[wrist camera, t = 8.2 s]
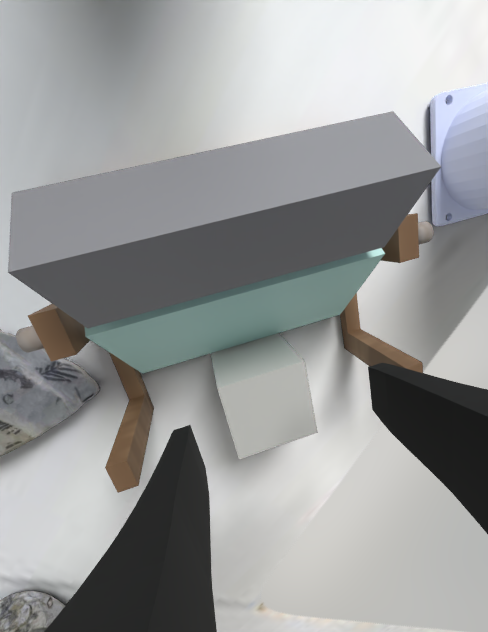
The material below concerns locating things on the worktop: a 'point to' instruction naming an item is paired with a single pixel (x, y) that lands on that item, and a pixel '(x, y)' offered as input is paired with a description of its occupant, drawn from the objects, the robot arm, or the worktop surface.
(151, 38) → the worktop surface
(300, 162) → the trapdoor plate
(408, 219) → the walnut frame
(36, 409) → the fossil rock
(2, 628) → the fossilized seashell
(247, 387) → the stone block
